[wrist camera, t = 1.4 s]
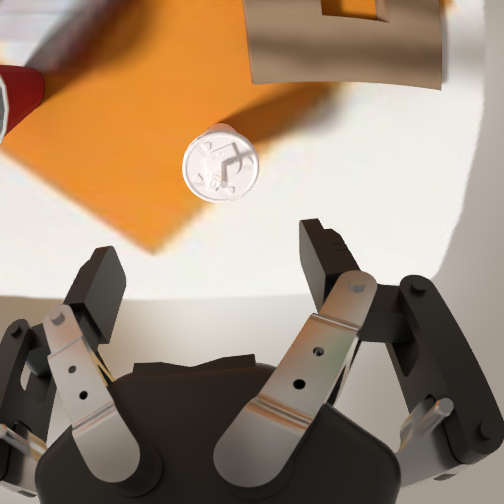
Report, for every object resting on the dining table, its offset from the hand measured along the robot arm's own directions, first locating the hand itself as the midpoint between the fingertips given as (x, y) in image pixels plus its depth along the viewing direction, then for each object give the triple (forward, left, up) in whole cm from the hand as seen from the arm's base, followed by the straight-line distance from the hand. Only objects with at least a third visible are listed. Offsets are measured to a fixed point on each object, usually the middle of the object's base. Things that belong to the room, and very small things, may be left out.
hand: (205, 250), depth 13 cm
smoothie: (+2, 0, -23) cm, 23 cm away
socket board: (-15, +15, -23) cm, 32 cm away
